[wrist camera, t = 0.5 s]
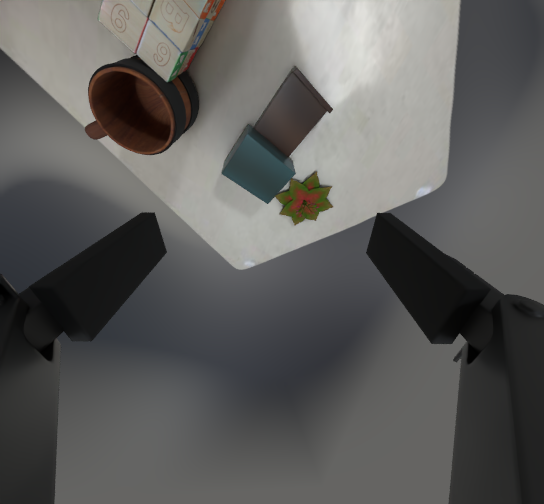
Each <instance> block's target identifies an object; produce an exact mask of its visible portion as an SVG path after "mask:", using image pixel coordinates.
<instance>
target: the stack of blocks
mask: <svg viewBox="0 0 544 504" xmlns="http://www.w3.org/2000/svg"><path fill="white" fill-rule="evenodd" d="M224 2H225V0H102V4H101V8H100V11H99V15H98V20H99V21H100V22H101V23H102V24H103V25H104V26H105V27H106V28H107V29H108V30H109V31H111V32H112V33H113V34H114V35H115V36H116V37H117V38H118V39H119V40H121V41H122V42H123V43H124V44H125V45H126V46H127V47H128V48H129V49H130V50H131V51H132V52H134V53H136V54H137V55H138V56H139V57H140V58H141V59H142V60H143V61H144V62H145V63H146V64H147V65H148V66H150V67H151V68H152V69H153V70H154V71H155V72H156V73H157V74H158V75H160V76H161V77H162V78H163V79H164V80H165V81H166V82H170V81H171V80H173V79H175V78H176V76H178V75H179V74H181V73H182V72H184V71H186V70H187V69H188V68H189V65H190V64H191V62H192V60H193V58H194V56H195V54H196V52H197V50H198V48H199V46H201V44H202V43H203V41H204V39H205V37H206V35H207V33H208V31H209V30H210V28H211V26H212V24H213V22H214V20H215V19H216V17H217V15H218V13H219V11H220V9H221V8H222V6H223V4H224Z"/></svg>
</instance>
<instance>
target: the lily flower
mask: <svg viewBox="0 0 544 504" xmlns="http://www.w3.org/2000/svg"><path fill="white" fill-rule="evenodd" d="M290 185H291V186H290V191H287V192H283V193H280V194H278V195H276V196H275V197H276V198H277V199H278V200H279V202H280V203H282V204H283V205H285V207H284V209H283V210H282V211H281V213H280V214H282V215H286V216H291V217H292V220H293V223H295V224H294V225H296V224H298V223H299V222H302V221H303V220H304V219H305V218H306V219H309V220H315V221H316V219H317V216H318V214H319V212H321V211H325V210H327V209H329V208H332V207H333V206H332V205H331V204H330V202H329V201H328V200H327V199H326V198H327V196H328V194H329V191H330V189H331V188H332V186H331V187H326V188H325V187H324V188H319V187H320V183H319V179H318V176H317V172H316V173H315V174H313V175H312V176H311V177H310V178H308V179H307V180H306V181H305V182H304V183H303V184H301V183H299V182H297V181H293V179H292V178H291V182H290Z"/></svg>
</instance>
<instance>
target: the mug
mask: <svg viewBox="0 0 544 504" xmlns="http://www.w3.org/2000/svg"><path fill="white" fill-rule="evenodd" d="M88 96H89V103H90V107H91V110H92V113H93V115H94V117H95V119H96V121H94V122H92V123H90V124H89V125H87V126H86V127H85V131H86V133H87V135H88V136H89V137H90V138H92V139H96V140H97V139H100V138H103V137H105V136H107V135H108V136H109V137H110V138H111V139H112V140H114V141H115V142H116V143H117V144H119V145H120V146H122V147H124V148H126V149H128V150H130V151H133V152H135V153H139V154H144V155H155V154H159V153H162V152H164V151H166V150H167V149H168V148H169V147H170V146H171V145H172V144H173V143H174V142H175V141H176V140H178V139H179V138H180V137H181V135H182V134H183V133H185V132H186V131H187V130H188V129H189V128H190V127H191V126H192V125H193V123H194V122H195V120H196V118H197V115H198V110H199V100H198V94H197V91H196V88H195V85H194V83H193V81H192V79H191V78H190V76H189V75H188V73H187V72H186V71H184V72H182V73H181V74H179V75H178V76H176V78H175V79H173V80H171V81H170V82H166V81H165V80H164V79H163V78H162V77H161V76H160V75H158V74H157V73H156V72H155V71H154V70H153V69H152V68H151V67H150V66H148V65H147V64H146V63H145V62H144V61H143V60H142V59H141V58H140V57H139V56H138V55H136V56H133V57H131V58H128V59H123V60H120V61H118V62H115V63H112V64H107V65H104V66H102V67H100V68H99V69H97V70H96V71H95V72H94V74H93V75H92V77H91V79H90V82H89V87H88Z"/></svg>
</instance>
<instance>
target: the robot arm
mask: <svg viewBox="0 0 544 504" xmlns="http://www.w3.org/2000/svg"><path fill="white" fill-rule="evenodd" d="M166 253H167V251H166V248H165V245H164V242H163V239H162V235H161V232H160V229H159V225H158V222H157V219H156V216H155V213H140V214H139V215H137V216H136V217H134V218H133V219H131V220H130V221H128V222H127V223H125V224H124V225H122V226H120V227H119V228H117V229H116V230H114V231H113V232H111V233H110V234H108V235H107V236H105V237H104V238H102V239H101V240H99V241H98V242H96V243H95V244H93V245H92V246H90V247H89V248H87V249H85V250H84V251H82V252H81V253H79V254H78V255H76V256H75V257H73V258H72V259H70V260H69V261H67V262H66V263H64V264H63V265H61V266H60V267H58V268H56V269H55V270H53V271H52V272H50V273H49V274H47V275H46V276H44V277H43V278H41V279H40V280H38V281H37V282H35V283H34V284H32V285H31V286H29V288H27V289H26V290H24V291H23V292H21V293H19V294H18V293H17V292H16V290H15V289H14V288H13V287H12V286H11V284H10V283H9V282H8V281H7V280H6V279H5V277H4V276H3V275H2V274H0V504H54V497H55V474H56V449H57V425H58V399H59V375H60V352H61V351H60V350H61V345H60V343H59V341H58V340H57V339H56V338H57V337H58V336H59V335H60V334H61V333H62V332H63V331H64V332H65V333H66V334H67V335H68V337H69V338H70V339H71V341H92V340H93V339H94V338H95V337H96V335H97V334H98V333H99V332H100V331H101V330H102V328H103V327H104V326H105V325H106V324H107V322H108V321H109V320H110V319H111V318H112V316H113V315H114V314H115V313H116V312H117V311H118V309H119V308H120V307H121V306H122V304H124V302H125V301H126V300H127V299H128V298H129V296H130V295H131V294H132V293H133V292H134V290H135V289H136V288H137V287H138V286H139V284H140V283H141V282H142V281H143V280H144V279H145V277H146V276H147V275H148V274H149V273H150V272H151V270H152V269H153V268H154V267H155V266H156V265H157V263H158V262H159V261H160V260H161V259H162V257H163V256H164V255H165V254H166ZM366 253H367V255H368V256H369V258H370V259H371V260H372V262H373V263H374V265H375V266H376V267H377V269H378V270H379V271H380V273H381V274H382V275H383V277H384V278H385V280H386V281H387V283H388V284H389V285H390V287H391V288H392V289H393V291H394V292H395V294H396V295H397V296H398V298H399V299H400V301H401V302H402V303H403V305H404V306H405V308H406V309H407V310H408V312H409V313H410V314H411V316H412V317H413V319H414V320H415V321H416V323H417V324H418V326H419V327H420V328H421V330H422V331H423V332H424V334H425V335H426V336H427V338H428V339H429V341H430V342H431V343H432V344H452V343H453V341H454V340H455V339H456V337H457V336H458V334H459V333H460V334H461V335H462V336H463V337H464V338H465V339H466V341H467V342H466V343H465V345H464V346H463V347H462V348H461V350H460V351H459V352H458V354H457V355H456V356H455V358H454V359H453V361H455V362H457V361H458V360H459V359H461V369H460V381H459V392H458V404H457V415H456V426H455V438H454V449H453V461H452V472H451V484H450V495H449V504H544V305H543V304H540V303H538V302H537V301H534V300H531V299H529V298H526V297H522V296H518V295H509V294H507V295H504V294H502V293H501V292H499V291H498V290H497V289H495V288H494V287H493V286H491V285H490V284H488V283H487V282H486V281H484V280H483V279H482V278H480V277H479V276H478V275H476V274H474V272H472V271H471V270H470V269H468V268H466V267H465V266H464V265H463V264H462V263H460V262H459V261H457V260H456V259H454V258H452V257H450V256H448V255H446V254H444V253H443V252H441V251H440V250H439V249H437V248H436V247H435V246H433V245H432V244H431V243H429V242H428V241H427V240H425V239H424V238H423V237H421V236H420V235H419V234H417V233H416V232H415V231H413V230H412V229H411V228H409V227H408V226H407V225H405V224H404V223H403V222H401V221H400V220H399V219H397V218H396V217H395V216H393V215H392V214H391V213H377V215H376V219H375V223H374V226H373V230H372V234H371V237H370V241H369V245H368V248H367V252H366Z"/></svg>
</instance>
